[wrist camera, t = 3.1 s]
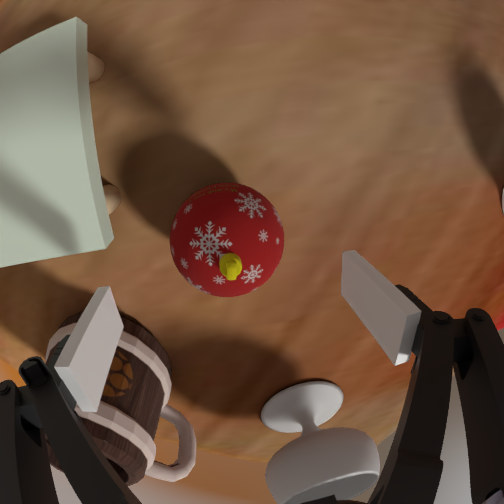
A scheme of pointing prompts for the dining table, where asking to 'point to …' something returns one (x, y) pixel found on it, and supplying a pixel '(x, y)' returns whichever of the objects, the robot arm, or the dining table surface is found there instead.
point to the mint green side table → (51, 149)
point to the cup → (503, 201)
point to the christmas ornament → (226, 239)
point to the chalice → (317, 447)
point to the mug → (133, 408)
